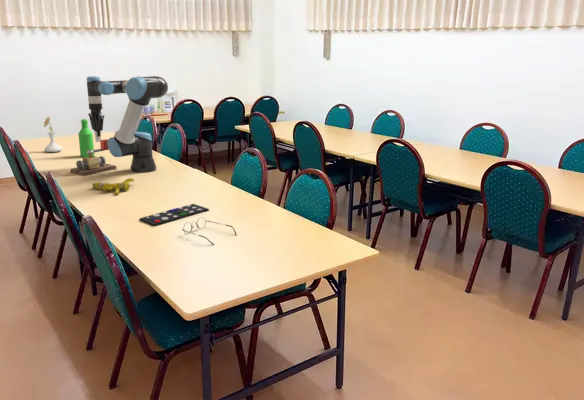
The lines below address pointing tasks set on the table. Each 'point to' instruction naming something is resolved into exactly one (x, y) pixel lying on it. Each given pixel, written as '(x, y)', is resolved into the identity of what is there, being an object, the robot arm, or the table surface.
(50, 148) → the flower in vase
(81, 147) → the bottle
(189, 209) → the remote control
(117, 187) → the yellow toy lizard
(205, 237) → the eyeglasses
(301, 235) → the table surface
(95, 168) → the valve board
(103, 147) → the lever
